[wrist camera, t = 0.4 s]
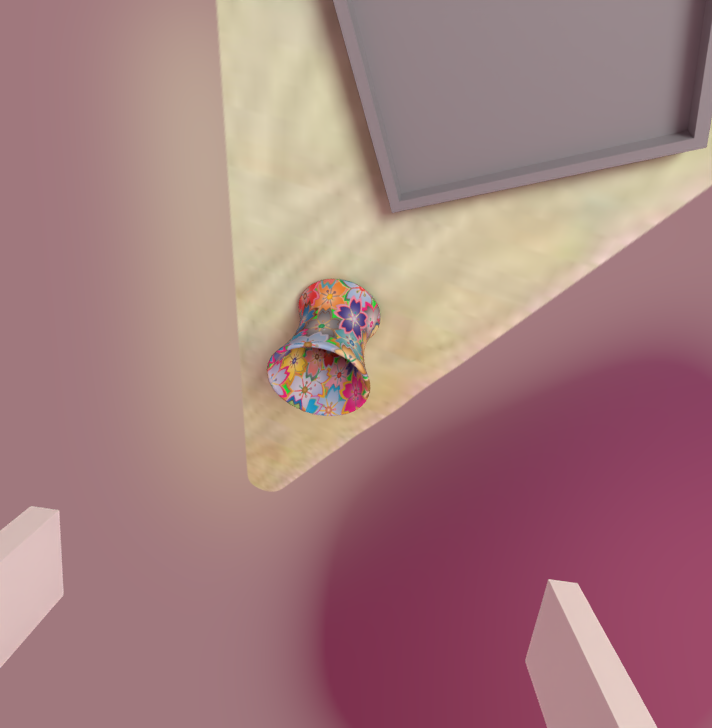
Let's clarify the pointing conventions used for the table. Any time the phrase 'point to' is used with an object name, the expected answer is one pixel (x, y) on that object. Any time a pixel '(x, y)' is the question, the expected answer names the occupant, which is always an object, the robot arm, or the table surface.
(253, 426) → the table surface
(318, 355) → the mug
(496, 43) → the grey square tray
